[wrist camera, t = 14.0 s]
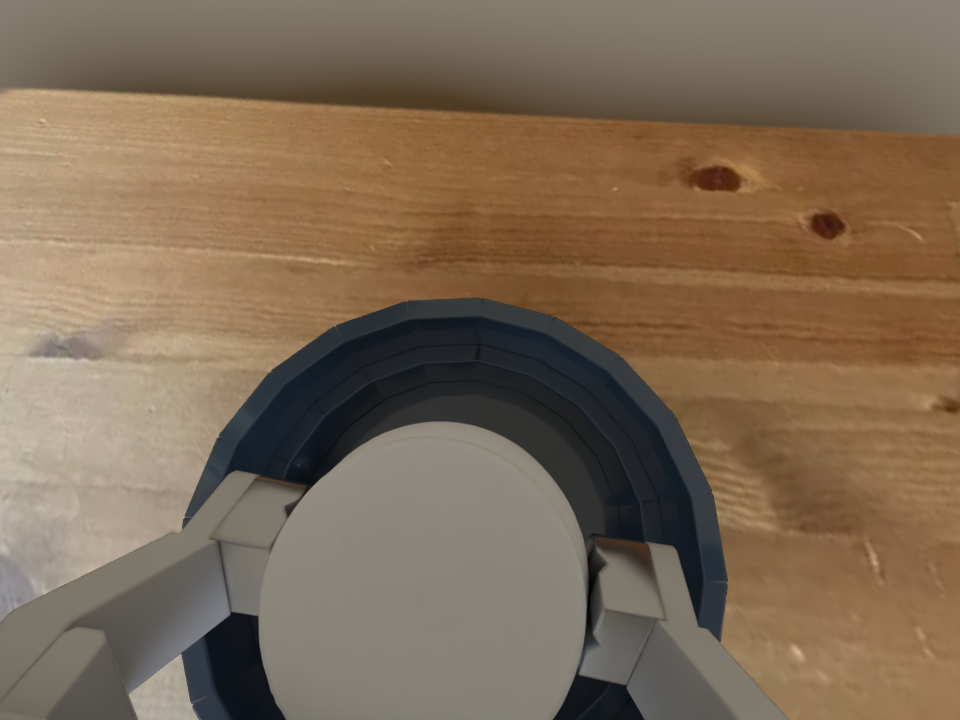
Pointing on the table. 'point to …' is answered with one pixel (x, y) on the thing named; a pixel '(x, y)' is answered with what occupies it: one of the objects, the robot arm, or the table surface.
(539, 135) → the table surface
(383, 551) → the pill bottle
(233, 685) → the bowl
